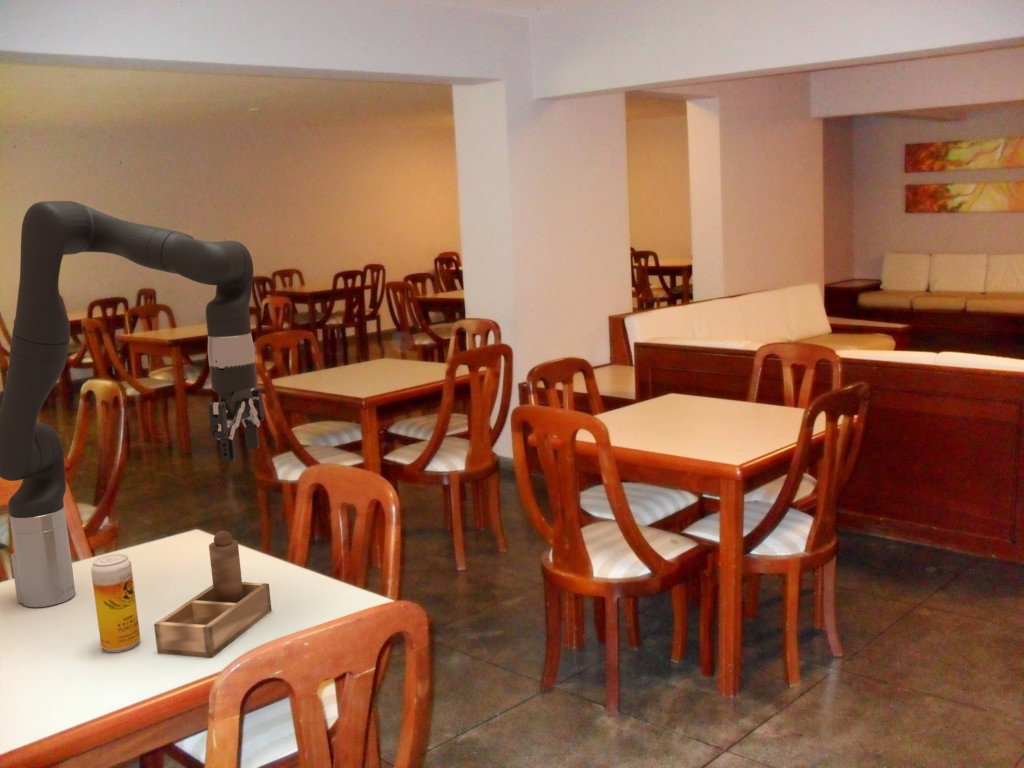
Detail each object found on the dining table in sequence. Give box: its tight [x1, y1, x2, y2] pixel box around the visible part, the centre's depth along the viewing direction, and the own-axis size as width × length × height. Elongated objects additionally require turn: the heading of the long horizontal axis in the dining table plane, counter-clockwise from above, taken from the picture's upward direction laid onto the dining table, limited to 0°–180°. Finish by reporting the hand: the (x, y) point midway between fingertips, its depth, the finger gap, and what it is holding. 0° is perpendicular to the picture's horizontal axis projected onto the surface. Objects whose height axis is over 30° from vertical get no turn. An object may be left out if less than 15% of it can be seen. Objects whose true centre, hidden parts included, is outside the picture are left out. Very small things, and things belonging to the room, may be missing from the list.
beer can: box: [90, 553, 141, 653], centre depth 163 cm, size 6×6×15 cm
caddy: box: [153, 530, 272, 658], centre depth 167 cm, size 10×19×16 cm, turn 164°
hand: (241, 454), depth 170 cm, fingers open, 8 cm apart
